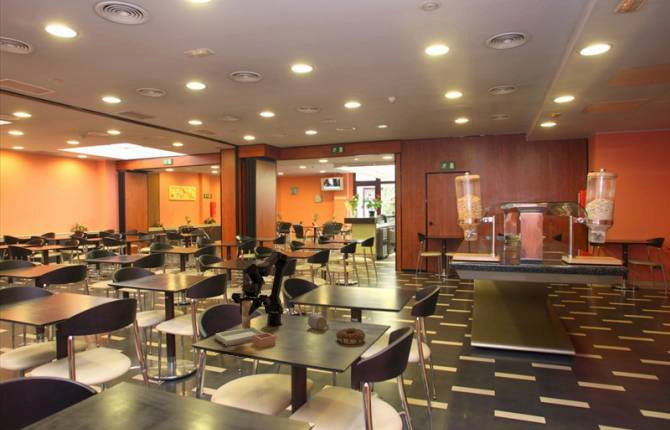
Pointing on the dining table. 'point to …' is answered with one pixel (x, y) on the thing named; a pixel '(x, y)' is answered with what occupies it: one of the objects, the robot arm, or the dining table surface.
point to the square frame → (264, 340)
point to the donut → (350, 336)
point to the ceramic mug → (317, 321)
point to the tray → (237, 336)
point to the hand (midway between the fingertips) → (244, 314)
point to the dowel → (246, 314)
